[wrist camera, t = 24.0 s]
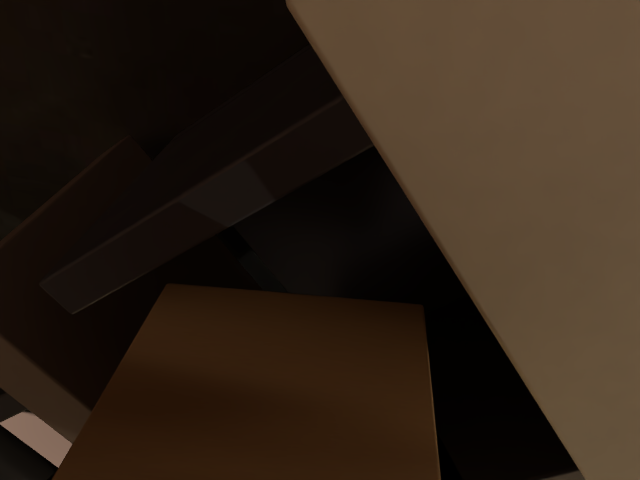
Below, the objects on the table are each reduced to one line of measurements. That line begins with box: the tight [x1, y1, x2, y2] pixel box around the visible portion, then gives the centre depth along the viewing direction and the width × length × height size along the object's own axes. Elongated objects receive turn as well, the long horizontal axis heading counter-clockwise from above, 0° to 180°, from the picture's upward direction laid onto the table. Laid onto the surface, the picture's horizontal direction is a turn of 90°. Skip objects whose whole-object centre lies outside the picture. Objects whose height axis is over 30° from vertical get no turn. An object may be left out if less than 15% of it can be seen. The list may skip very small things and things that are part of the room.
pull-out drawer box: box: [0, 44, 585, 480], centre depth 13 cm, size 17×10×7 cm, turn 124°
